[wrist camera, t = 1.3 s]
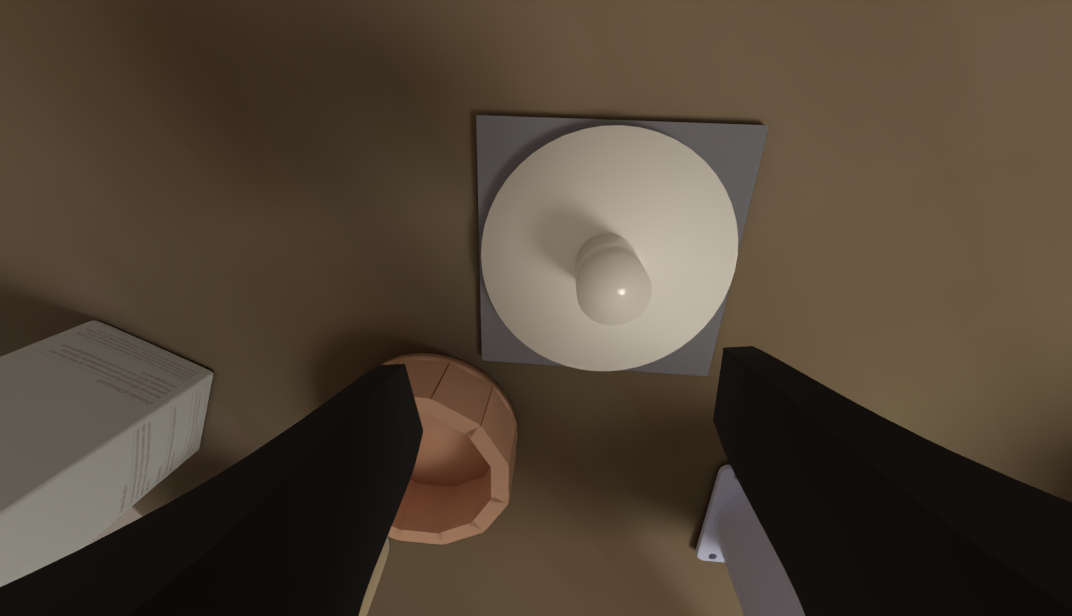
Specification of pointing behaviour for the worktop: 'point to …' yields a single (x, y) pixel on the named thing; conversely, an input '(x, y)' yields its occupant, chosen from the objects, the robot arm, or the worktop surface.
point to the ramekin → (456, 451)
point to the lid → (609, 248)
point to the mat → (518, 137)
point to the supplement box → (87, 437)
